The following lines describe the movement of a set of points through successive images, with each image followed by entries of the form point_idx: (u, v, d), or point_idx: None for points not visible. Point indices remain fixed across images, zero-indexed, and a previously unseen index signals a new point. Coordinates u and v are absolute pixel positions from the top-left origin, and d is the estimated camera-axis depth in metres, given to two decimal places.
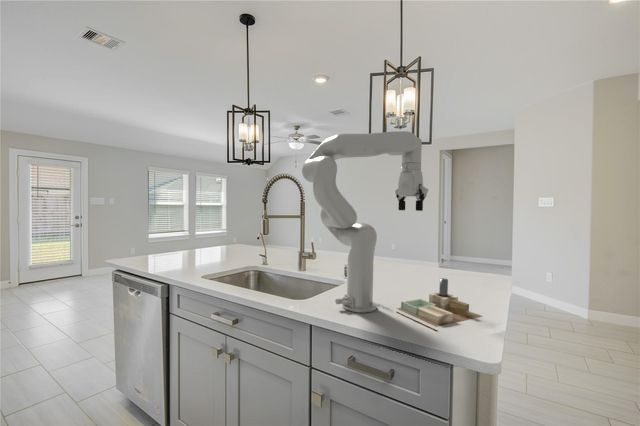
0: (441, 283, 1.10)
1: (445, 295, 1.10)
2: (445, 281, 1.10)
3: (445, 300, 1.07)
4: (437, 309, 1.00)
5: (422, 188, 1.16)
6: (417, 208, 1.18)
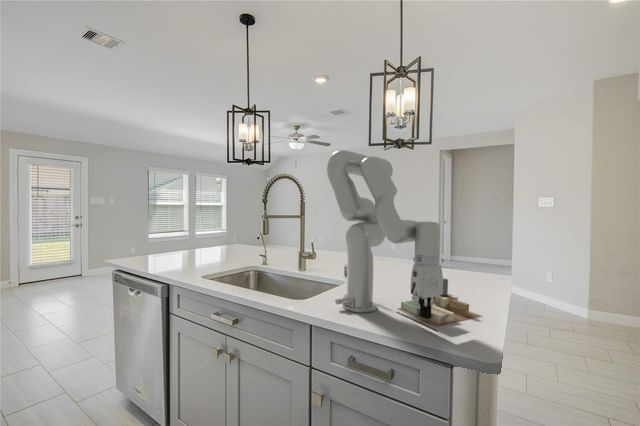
0: None
1: (445, 295, 1.10)
2: (445, 281, 1.10)
3: (445, 300, 1.07)
4: (438, 309, 1.00)
5: None
6: None
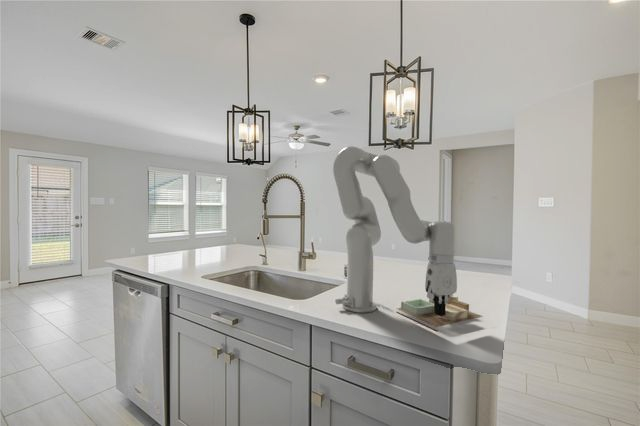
0: None
1: None
2: None
3: None
4: (452, 306, 1.03)
5: None
6: None
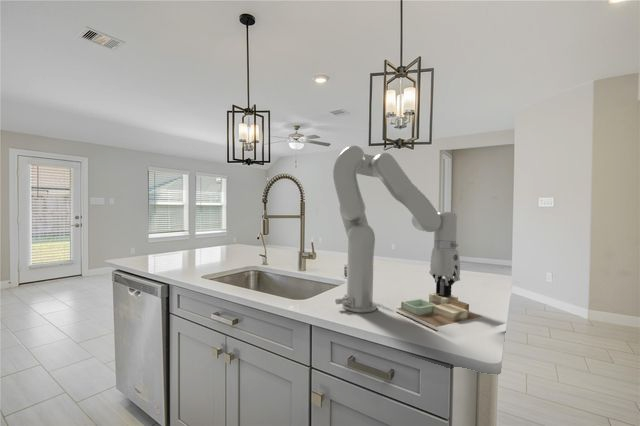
0: (442, 283, 1.10)
1: None
2: None
3: (445, 300, 1.07)
4: (452, 306, 1.03)
5: None
6: None
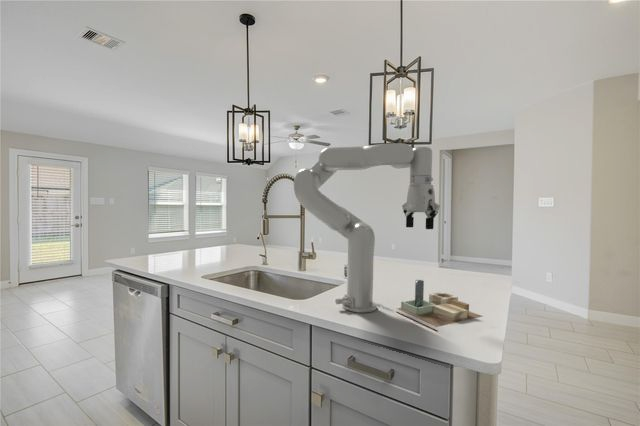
0: (417, 285, 1.05)
1: (421, 297, 1.05)
2: (421, 283, 1.05)
3: (445, 300, 1.07)
4: (452, 306, 1.03)
5: None
6: None
